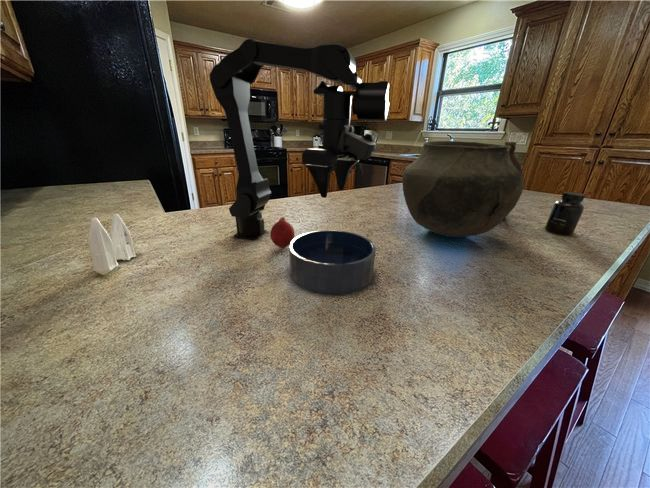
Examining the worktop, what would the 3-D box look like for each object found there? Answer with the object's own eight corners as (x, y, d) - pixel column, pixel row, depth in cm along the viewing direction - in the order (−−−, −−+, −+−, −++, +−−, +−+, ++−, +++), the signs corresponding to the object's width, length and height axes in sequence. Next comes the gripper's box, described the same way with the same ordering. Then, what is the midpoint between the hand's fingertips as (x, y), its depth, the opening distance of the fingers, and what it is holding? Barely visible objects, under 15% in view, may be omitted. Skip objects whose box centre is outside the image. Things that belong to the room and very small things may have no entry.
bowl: (277, 286, 50) (275, 258, 48) (304, 249, 66) (304, 226, 63) (369, 301, 47) (372, 270, 44) (375, 258, 62) (377, 234, 60)
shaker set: (112, 279, 51) (93, 225, 47) (87, 280, 51) (66, 225, 46) (141, 252, 62) (128, 206, 58) (121, 253, 61) (107, 206, 57)
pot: (489, 267, 59) (525, 148, 49) (376, 228, 81) (386, 140, 71) (527, 237, 77) (559, 145, 67) (426, 212, 99) (439, 139, 89)
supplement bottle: (548, 233, 80) (563, 194, 75) (541, 226, 86) (555, 189, 81) (577, 237, 78) (594, 197, 73) (567, 230, 84) (583, 192, 79)
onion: (290, 254, 63) (289, 222, 60) (267, 251, 64) (265, 220, 61) (297, 244, 68) (297, 214, 65) (276, 242, 69) (274, 212, 66)
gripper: (356, 118, 45) (349, 208, 51) (386, 122, 60) (378, 190, 67) (300, 117, 50) (300, 199, 56) (341, 121, 65) (337, 185, 71)
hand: (333, 193), depth 62 cm, fingers open, 9 cm apart
